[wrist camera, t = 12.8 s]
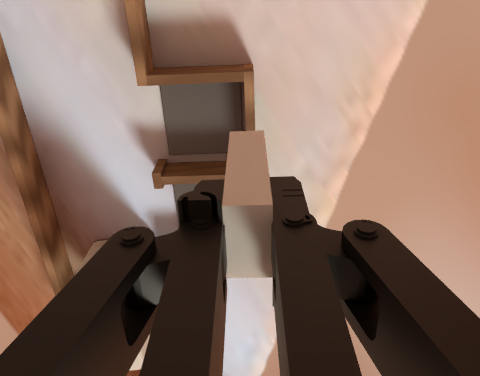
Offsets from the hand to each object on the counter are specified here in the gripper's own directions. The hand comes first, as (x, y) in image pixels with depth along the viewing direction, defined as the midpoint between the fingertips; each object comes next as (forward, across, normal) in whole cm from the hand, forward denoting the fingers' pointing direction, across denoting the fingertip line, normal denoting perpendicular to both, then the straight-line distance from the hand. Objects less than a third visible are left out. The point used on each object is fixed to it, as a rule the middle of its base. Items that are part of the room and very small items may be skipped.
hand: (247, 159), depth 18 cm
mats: (+28, -5, -13) cm, 32 cm away
